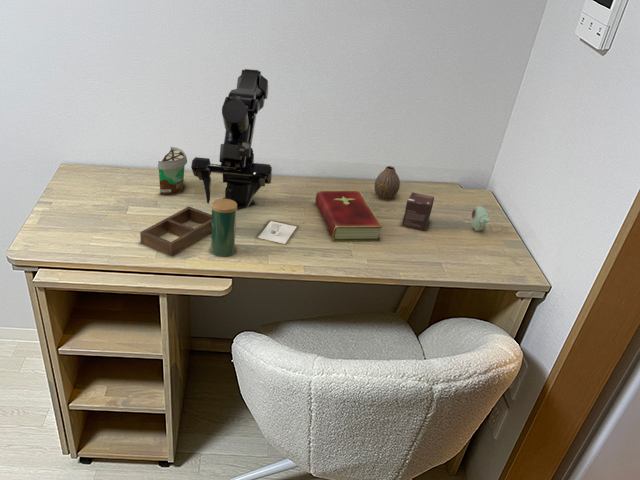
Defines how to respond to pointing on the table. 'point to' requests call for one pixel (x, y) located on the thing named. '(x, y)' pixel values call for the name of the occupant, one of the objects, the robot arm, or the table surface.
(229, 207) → the canister
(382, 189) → the vase
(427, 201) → the box
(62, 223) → the table surface
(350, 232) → the hardcover book
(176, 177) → the food container
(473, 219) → the pale green lumpy piece
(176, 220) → the rack
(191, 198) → the table surface
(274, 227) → the adhesive hook
